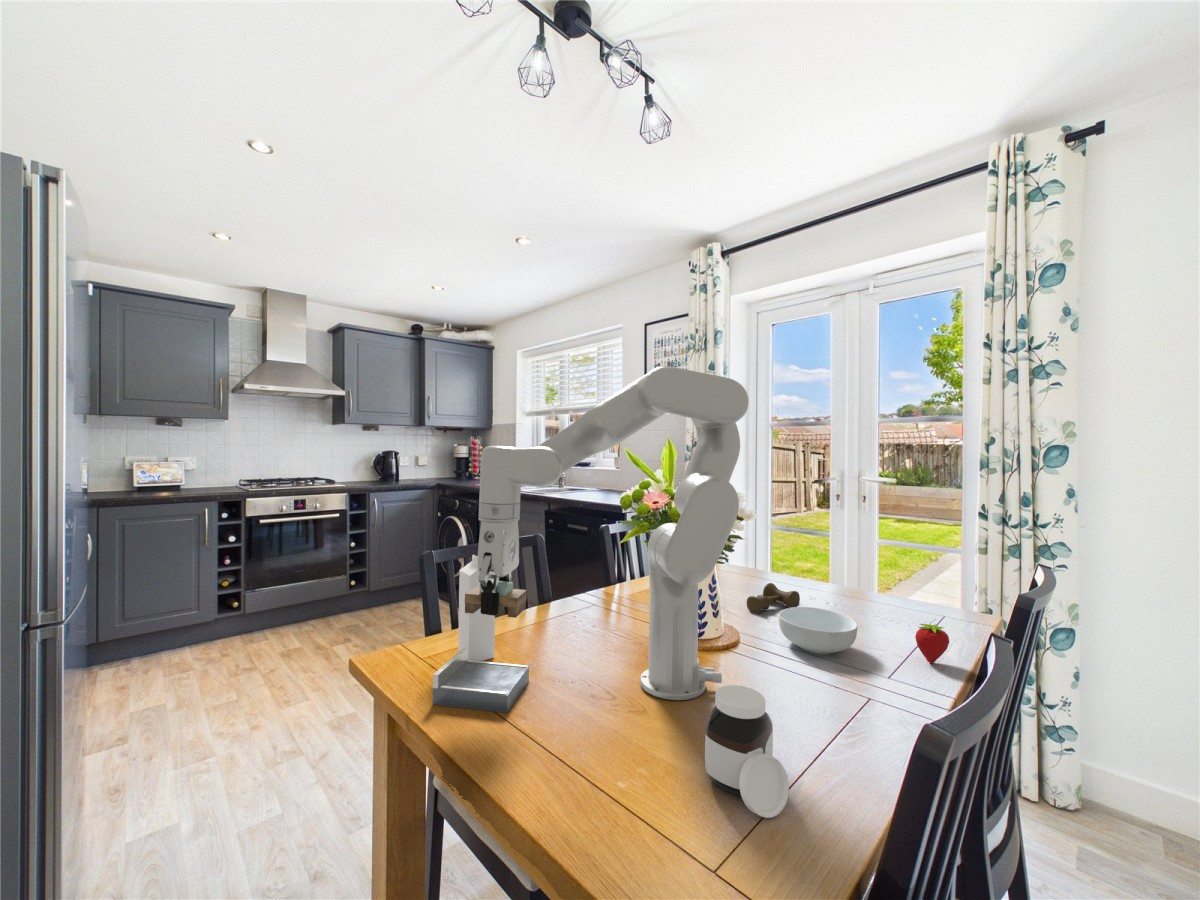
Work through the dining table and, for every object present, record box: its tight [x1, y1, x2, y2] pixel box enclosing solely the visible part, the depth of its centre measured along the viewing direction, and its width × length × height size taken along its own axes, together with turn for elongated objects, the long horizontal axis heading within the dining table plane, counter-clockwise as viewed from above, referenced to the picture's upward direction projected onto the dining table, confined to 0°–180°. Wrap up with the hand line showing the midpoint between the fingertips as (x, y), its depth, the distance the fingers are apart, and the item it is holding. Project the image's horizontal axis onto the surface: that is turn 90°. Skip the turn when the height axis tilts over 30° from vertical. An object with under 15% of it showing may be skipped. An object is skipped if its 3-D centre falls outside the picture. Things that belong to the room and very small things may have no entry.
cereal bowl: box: [778, 606, 858, 655], centre depth 117 cm, size 17×17×7 cm
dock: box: [432, 648, 530, 714], centre depth 94 cm, size 14×12×5 cm
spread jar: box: [704, 684, 790, 819], centre depth 68 cm, size 12×11×12 cm
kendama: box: [746, 582, 801, 615], centre depth 147 cm, size 6×10×20 cm
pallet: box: [465, 586, 528, 618], centre depth 93 cm, size 10×6×4 cm, turn 81°
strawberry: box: [914, 618, 950, 664], centre depth 110 cm, size 6×8×10 cm
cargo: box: [480, 580, 514, 596], centre depth 93 cm, size 5×4×2 cm
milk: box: [457, 554, 496, 662], centre depth 110 cm, size 6×6×22 cm
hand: (495, 607), depth 93 cm, fingers closed on pallet, 5 cm apart
